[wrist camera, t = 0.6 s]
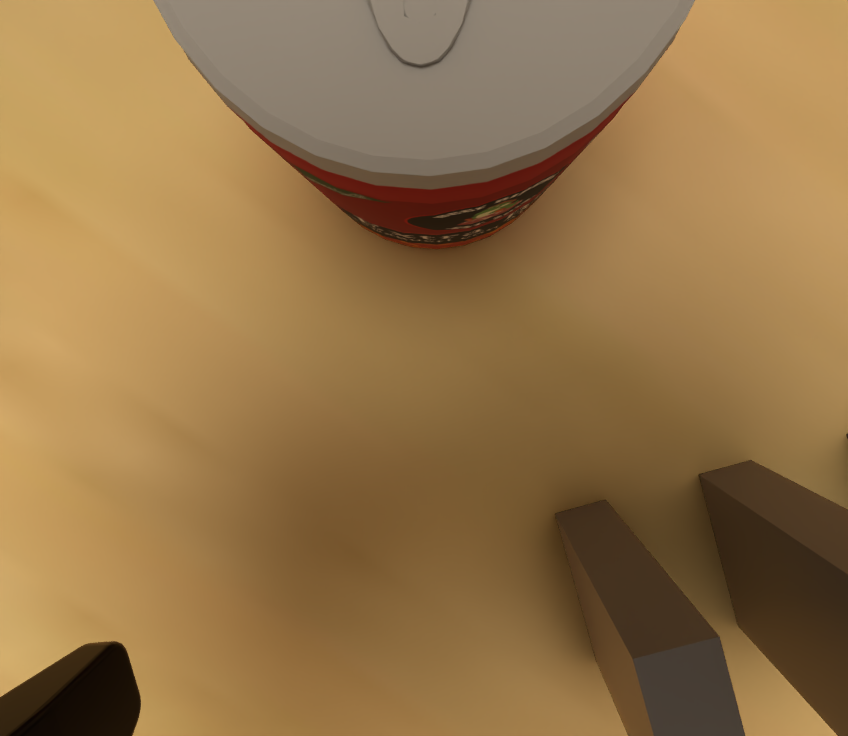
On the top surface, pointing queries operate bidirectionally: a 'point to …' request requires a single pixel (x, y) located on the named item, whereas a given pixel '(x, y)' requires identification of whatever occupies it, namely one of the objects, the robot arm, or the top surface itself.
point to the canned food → (426, 96)
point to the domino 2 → (787, 578)
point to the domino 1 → (646, 632)
